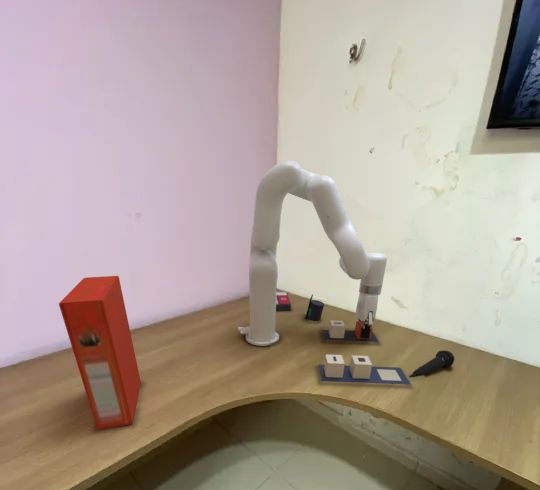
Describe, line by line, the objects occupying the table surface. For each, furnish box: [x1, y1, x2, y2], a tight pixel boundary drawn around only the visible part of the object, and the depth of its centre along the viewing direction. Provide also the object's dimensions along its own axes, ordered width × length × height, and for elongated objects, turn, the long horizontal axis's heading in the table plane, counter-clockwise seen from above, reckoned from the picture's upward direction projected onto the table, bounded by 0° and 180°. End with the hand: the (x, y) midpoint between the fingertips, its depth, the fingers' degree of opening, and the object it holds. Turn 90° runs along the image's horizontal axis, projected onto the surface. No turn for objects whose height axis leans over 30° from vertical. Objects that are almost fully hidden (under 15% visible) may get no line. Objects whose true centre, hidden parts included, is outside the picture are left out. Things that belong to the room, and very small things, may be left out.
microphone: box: [408, 349, 455, 378], centre depth 98 cm, size 6×6×20 cm
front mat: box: [318, 364, 411, 385], centre depth 95 cm, size 26×9×1 cm, turn 88°
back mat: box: [321, 329, 379, 343], centre depth 118 cm, size 20×9×1 cm, turn 88°
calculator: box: [276, 291, 292, 312], centre depth 147 cm, size 11×4×15 cm
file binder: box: [58, 275, 142, 431], centre depth 74 cm, size 8×17×32 cm, turn 14°
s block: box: [354, 320, 374, 339], centre depth 117 cm, size 5×5×5 cm
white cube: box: [323, 354, 346, 378], centre depth 94 cm, size 5×5×5 cm
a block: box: [328, 319, 346, 338], centre depth 117 cm, size 5×5×5 cm
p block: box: [349, 355, 373, 379], centre depth 94 cm, size 5×5×5 cm
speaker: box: [304, 294, 325, 322], centre depth 131 cm, size 8×6×10 cm
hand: (362, 333), depth 117 cm, fingers closed on s block, 5 cm apart
